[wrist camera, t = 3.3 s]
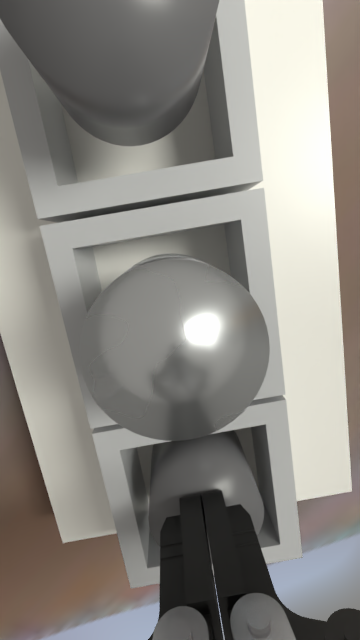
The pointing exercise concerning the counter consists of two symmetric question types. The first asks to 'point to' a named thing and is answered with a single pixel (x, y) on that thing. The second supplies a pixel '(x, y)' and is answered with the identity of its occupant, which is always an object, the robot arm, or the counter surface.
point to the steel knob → (174, 348)
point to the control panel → (188, 239)
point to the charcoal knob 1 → (117, 60)
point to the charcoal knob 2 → (201, 477)
